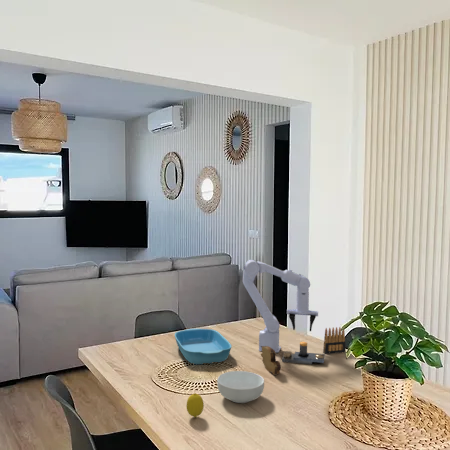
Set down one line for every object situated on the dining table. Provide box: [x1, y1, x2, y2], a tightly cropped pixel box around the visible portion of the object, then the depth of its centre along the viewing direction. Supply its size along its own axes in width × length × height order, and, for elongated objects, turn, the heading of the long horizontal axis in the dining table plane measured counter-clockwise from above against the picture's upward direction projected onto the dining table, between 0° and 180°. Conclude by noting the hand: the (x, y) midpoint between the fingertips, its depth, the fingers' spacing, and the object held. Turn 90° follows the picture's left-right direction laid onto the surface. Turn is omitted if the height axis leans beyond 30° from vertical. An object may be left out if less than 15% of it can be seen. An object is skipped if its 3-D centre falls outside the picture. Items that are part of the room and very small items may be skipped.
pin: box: [299, 341, 308, 357], centre depth 199 cm, size 3×3×8 cm
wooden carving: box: [260, 346, 282, 376], centre depth 187 cm, size 16×5×10 cm, turn 21°
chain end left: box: [281, 350, 313, 365], centre depth 200 cm, size 13×8×3 cm, turn 75°
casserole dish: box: [174, 327, 233, 365], centre depth 208 cm, size 37×22×7 cm, turn 18°
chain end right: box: [293, 351, 326, 365], centre depth 198 cm, size 13×8×3 cm, turn 75°
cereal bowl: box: [216, 370, 265, 404], centre depth 160 cm, size 17×17×7 cm
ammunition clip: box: [322, 326, 347, 355], centre depth 210 cm, size 11×2×12 cm, turn 105°
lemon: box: [186, 392, 204, 419], centre depth 146 cm, size 6×6×8 cm
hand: (302, 330), depth 214 cm, fingers open, 7 cm apart
